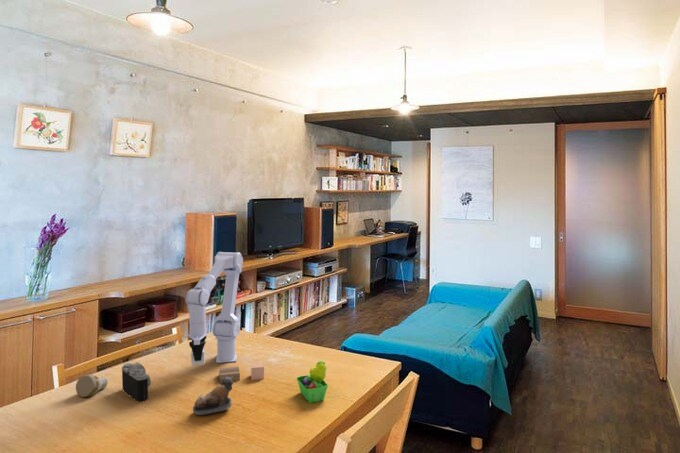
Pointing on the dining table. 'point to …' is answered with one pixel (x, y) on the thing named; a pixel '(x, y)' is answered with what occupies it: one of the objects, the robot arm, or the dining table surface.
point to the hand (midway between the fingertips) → (198, 358)
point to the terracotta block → (257, 371)
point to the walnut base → (229, 373)
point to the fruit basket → (314, 383)
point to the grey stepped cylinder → (90, 385)
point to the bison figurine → (215, 399)
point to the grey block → (198, 361)
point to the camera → (135, 381)
